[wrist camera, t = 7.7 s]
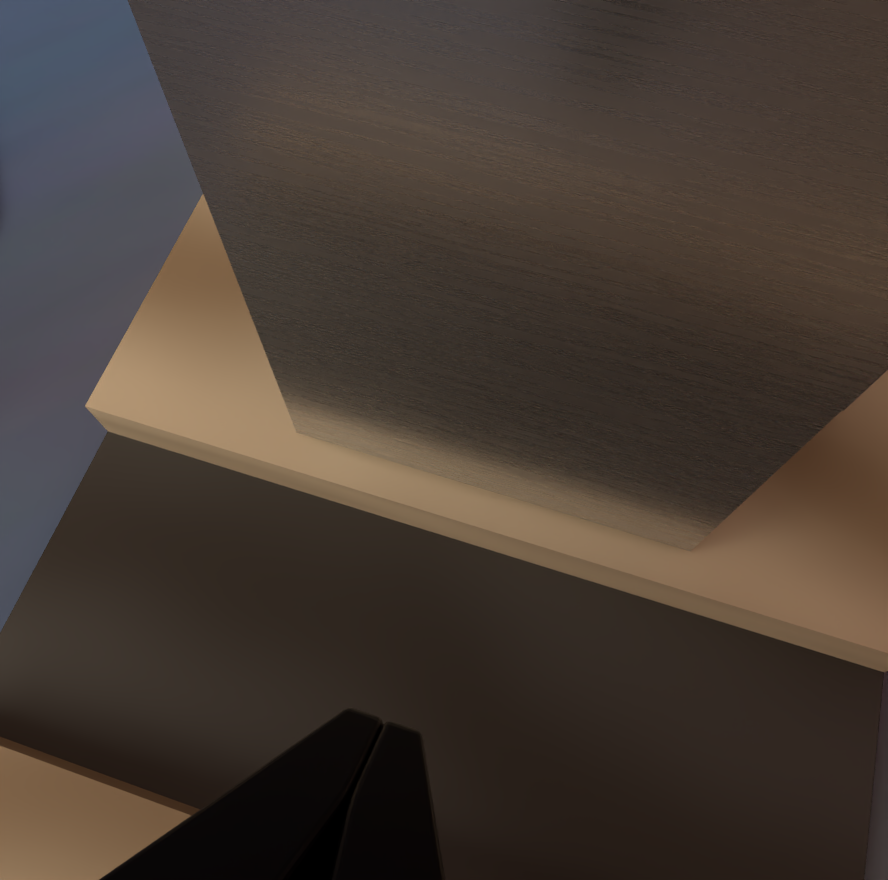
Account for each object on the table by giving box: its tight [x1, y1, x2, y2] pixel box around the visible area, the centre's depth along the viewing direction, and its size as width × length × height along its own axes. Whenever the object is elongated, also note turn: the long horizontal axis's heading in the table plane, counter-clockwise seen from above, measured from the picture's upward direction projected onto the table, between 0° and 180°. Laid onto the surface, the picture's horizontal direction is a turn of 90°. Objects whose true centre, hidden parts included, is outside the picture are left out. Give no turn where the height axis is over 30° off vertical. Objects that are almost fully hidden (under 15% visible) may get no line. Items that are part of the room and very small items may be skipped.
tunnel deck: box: [0, 194, 888, 880], centre depth 13 cm, size 28×16×13 cm, turn 162°
